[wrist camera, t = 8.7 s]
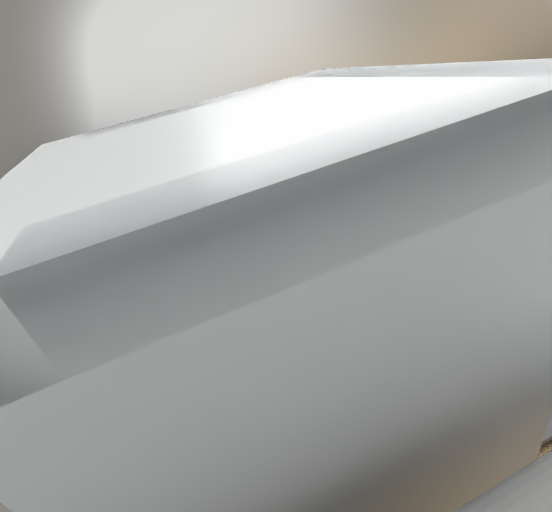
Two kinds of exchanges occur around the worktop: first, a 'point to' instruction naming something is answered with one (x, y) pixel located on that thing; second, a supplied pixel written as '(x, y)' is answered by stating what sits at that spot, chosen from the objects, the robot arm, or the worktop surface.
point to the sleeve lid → (284, 298)
